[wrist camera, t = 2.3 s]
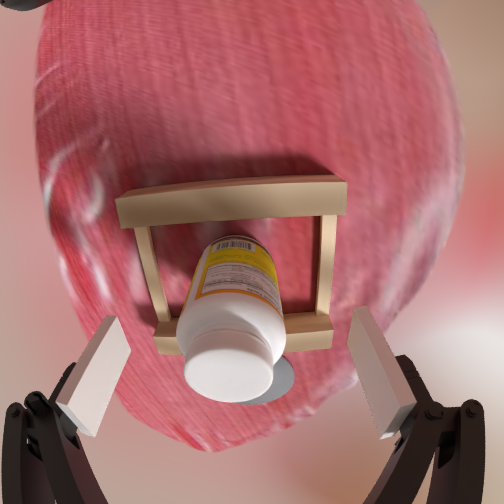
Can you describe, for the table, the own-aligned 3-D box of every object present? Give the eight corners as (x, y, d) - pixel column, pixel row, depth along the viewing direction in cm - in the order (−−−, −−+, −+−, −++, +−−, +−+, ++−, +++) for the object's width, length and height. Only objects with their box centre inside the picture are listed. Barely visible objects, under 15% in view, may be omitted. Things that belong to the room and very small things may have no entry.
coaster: (195, 346, 24) (194, 351, 23) (295, 343, 24) (296, 347, 23) (211, 400, 28) (211, 404, 27) (291, 397, 27) (292, 402, 27)
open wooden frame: (130, 189, 18) (114, 199, 15) (335, 174, 17) (347, 182, 15) (165, 334, 23) (159, 353, 21) (324, 328, 23) (330, 348, 21)
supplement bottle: (232, 310, 22) (223, 421, 13) (184, 261, 20) (139, 366, 11) (290, 272, 20) (315, 384, 11) (243, 216, 19) (234, 310, 9)
